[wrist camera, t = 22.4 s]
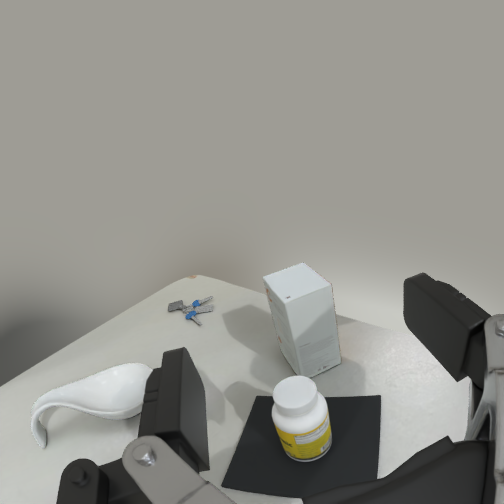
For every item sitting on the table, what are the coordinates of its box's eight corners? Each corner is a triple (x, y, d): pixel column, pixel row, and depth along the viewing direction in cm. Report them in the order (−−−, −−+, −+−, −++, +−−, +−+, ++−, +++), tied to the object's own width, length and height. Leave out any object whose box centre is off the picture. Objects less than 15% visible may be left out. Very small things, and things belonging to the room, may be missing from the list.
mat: (380, 397, 33) (380, 394, 33) (374, 499, 21) (374, 498, 21) (257, 397, 39) (256, 395, 39) (222, 486, 27) (220, 485, 27)
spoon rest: (152, 368, 49) (135, 335, 47) (176, 409, 40) (155, 374, 37) (41, 420, 39) (17, 390, 37) (44, 468, 30) (14, 438, 27)
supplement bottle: (279, 432, 32) (260, 378, 29) (324, 419, 33) (315, 362, 29) (289, 469, 27) (270, 420, 24) (338, 454, 27) (333, 401, 24)
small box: (342, 363, 41) (333, 283, 36) (301, 382, 40) (283, 303, 35) (317, 334, 48) (303, 260, 43) (279, 350, 47) (260, 276, 42)
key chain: (163, 309, 67) (161, 306, 67) (191, 291, 72) (190, 288, 72) (201, 327, 57) (199, 324, 57) (231, 304, 63) (230, 301, 62)
